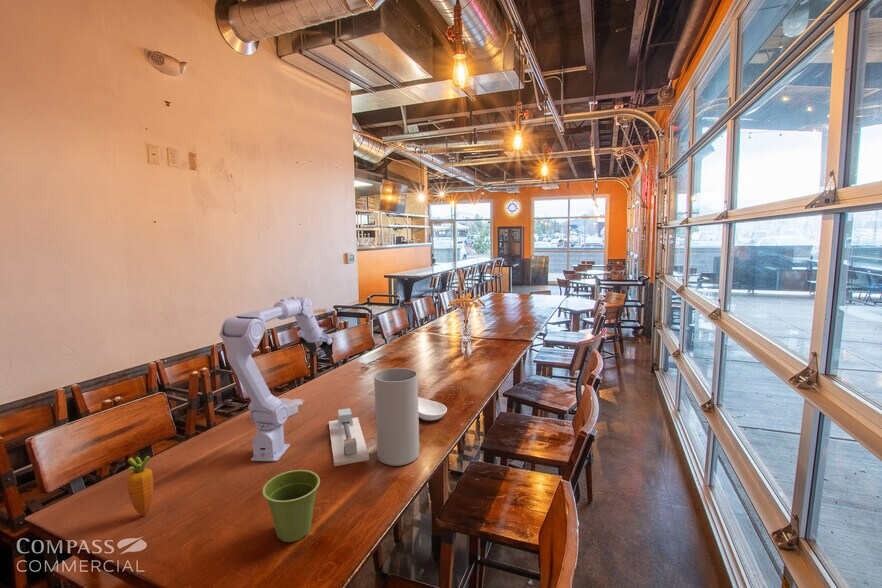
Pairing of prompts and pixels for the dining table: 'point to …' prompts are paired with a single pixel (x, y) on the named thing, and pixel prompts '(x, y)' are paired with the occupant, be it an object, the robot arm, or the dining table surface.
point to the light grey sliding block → (345, 417)
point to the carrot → (140, 485)
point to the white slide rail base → (347, 443)
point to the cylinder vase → (397, 416)
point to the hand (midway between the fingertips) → (322, 353)
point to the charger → (292, 405)
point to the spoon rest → (430, 409)
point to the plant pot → (292, 502)
